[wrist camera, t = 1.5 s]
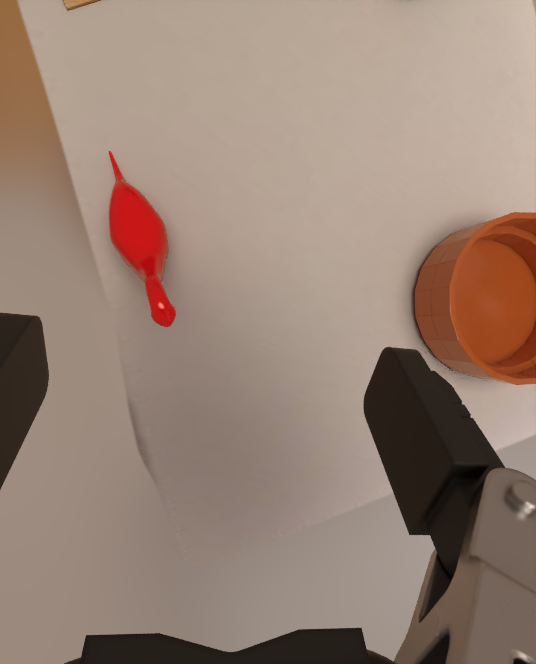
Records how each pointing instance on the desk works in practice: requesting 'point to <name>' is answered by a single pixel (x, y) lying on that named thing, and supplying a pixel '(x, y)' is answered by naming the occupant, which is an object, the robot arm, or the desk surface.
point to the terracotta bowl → (483, 300)
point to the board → (77, 3)
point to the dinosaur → (141, 243)
